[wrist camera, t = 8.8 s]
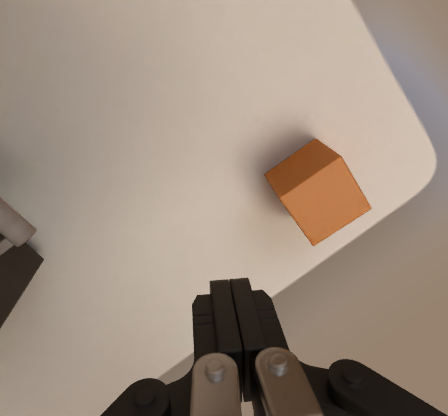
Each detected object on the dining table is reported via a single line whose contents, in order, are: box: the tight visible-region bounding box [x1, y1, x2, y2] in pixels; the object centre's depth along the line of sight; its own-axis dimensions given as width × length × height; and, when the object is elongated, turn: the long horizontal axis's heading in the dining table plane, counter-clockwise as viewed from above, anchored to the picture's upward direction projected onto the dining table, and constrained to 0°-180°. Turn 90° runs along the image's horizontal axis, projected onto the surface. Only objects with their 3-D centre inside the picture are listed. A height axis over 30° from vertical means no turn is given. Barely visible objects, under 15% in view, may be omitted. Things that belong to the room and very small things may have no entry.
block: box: [264, 139, 371, 246], centre depth 25 cm, size 5×5×5 cm
